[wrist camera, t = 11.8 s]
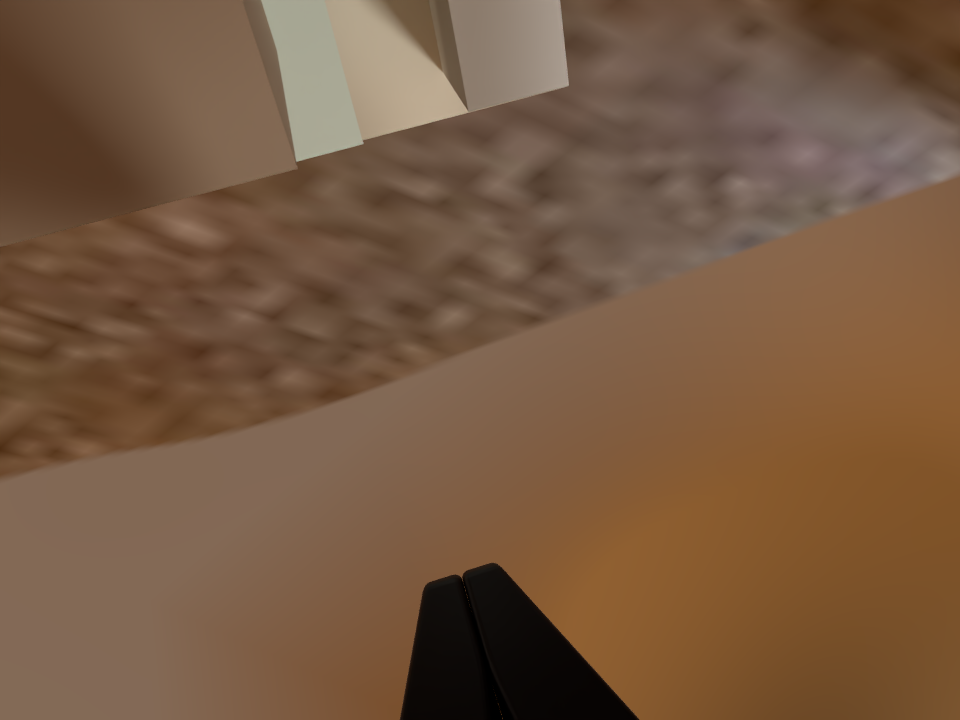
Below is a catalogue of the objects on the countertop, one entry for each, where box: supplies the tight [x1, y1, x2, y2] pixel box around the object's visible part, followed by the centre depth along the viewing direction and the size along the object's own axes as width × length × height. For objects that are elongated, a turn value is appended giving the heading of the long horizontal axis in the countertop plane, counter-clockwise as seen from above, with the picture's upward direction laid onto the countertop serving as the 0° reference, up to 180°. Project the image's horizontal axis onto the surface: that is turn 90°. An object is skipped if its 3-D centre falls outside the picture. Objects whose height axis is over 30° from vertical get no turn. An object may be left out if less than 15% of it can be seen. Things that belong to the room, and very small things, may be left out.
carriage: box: [0, 0, 363, 247], centre depth 12 cm, size 7×7×6 cm
